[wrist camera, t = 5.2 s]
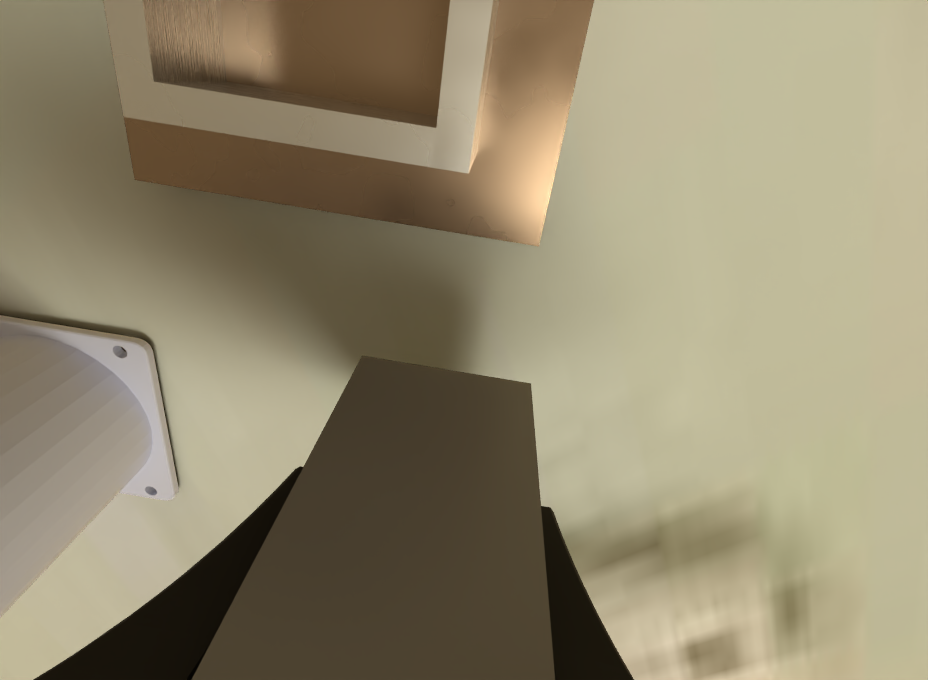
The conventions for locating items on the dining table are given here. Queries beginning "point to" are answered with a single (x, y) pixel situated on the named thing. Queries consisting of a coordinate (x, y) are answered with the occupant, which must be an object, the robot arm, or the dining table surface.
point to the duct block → (402, 542)
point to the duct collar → (355, 104)
